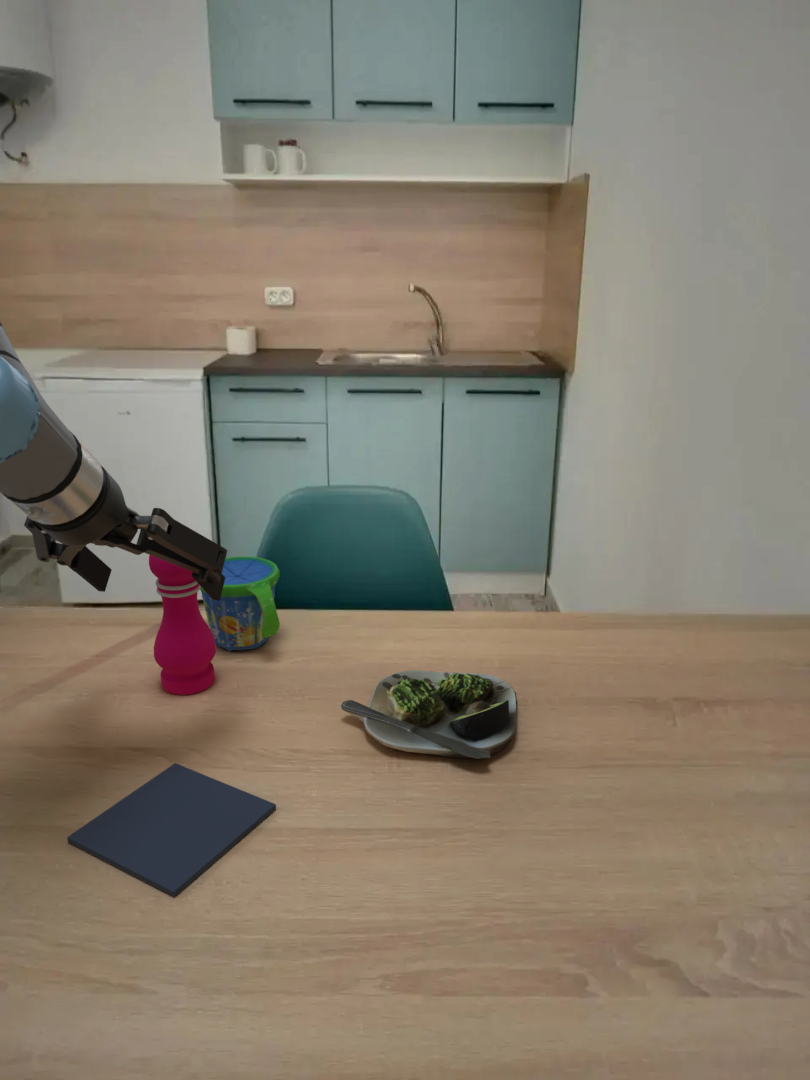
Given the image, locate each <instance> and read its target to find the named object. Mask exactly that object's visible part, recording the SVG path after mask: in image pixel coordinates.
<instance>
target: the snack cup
mask: <svg viewBox="0 0 810 1080" xmlns="http://www.w3.org/2000/svg"><path fill="white" fill-rule="evenodd" d="M222 574H223V575H224V577H225V581H224V586H223V590H222V594H221V598H220V600H213V599H212V598H211V597H210V596H209V595H208V594H207V593H206V591H205V590H204V589H203V588H202V587H201V588H200V590H199V591H200V592H201V598H202V600H203V601H202V602H203V606H204V610H205V615H206V619H207V622H208V627H209V628H210V630H211V632H212V634H213V636H214V639H215V644H216V646H218V647H219V648H224V649H225V650H227V651H229V652H231V651H234V650H235V651H248V650H252V649H257V648H259V647H260V646H261V645H263V644H265V643H266V642H267V641H268V640H269V638H270V637H271V636H274V635H276V634H277V632H279V630H280V625H281V623H280V619H279V615H278V611H277V608H276V603H275V597H276V595H275V591H276V590H275V589H276V585H277V583H278V581H279V579H280V576H281V574H280V569H279V568H278V565H277V564H276V563H274V562H273V561H271V560H269V559H266V558H263V557H259V556H258V557H257V556H248V555H247V556H245V555H244V556H240V555H239V556H229V557H226V559H225V563H224V567H223V571H222Z"/></svg>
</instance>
